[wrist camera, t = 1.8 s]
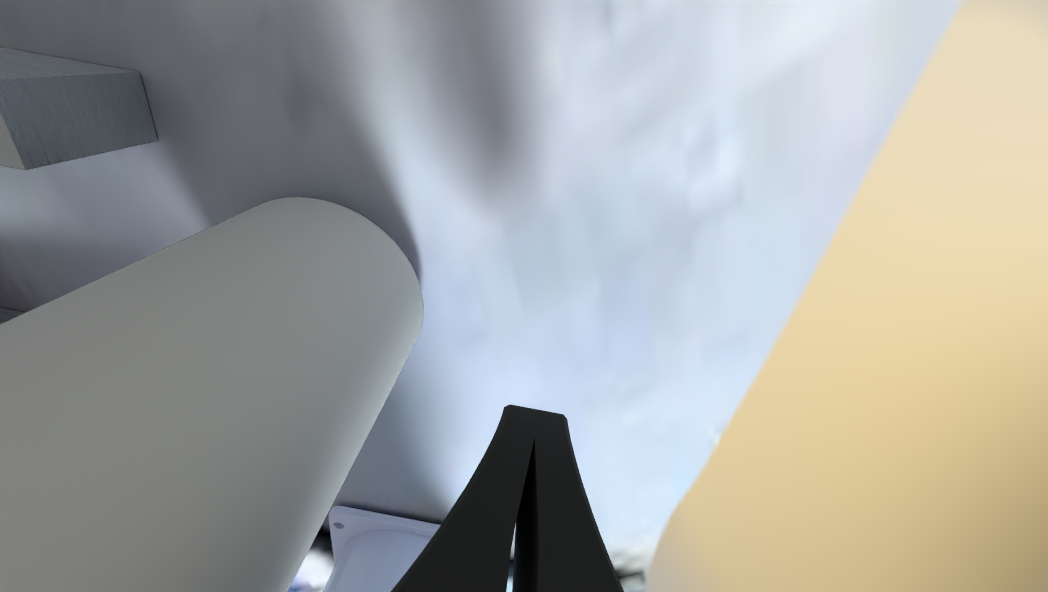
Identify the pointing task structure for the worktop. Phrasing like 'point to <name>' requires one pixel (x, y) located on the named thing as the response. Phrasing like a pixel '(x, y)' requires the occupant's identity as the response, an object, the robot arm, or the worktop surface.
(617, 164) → the worktop surface
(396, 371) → the beverage can
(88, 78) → the grey piece
